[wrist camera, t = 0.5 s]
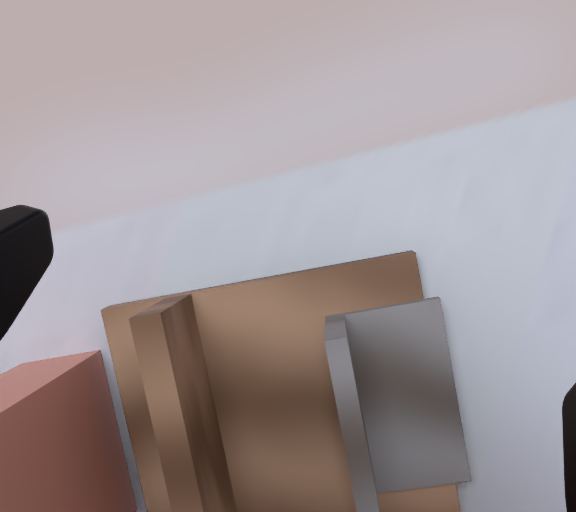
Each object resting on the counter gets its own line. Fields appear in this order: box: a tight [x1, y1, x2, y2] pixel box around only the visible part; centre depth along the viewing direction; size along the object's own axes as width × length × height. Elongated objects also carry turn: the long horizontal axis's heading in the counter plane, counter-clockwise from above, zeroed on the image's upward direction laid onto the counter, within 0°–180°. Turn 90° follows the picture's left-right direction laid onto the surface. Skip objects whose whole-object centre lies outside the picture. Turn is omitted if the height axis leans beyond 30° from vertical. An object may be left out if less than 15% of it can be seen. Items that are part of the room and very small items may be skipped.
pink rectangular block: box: [0, 350, 137, 512], centre depth 19 cm, size 8×4×10 cm, turn 11°
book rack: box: [101, 251, 471, 512], centre depth 21 cm, size 12×15×5 cm
